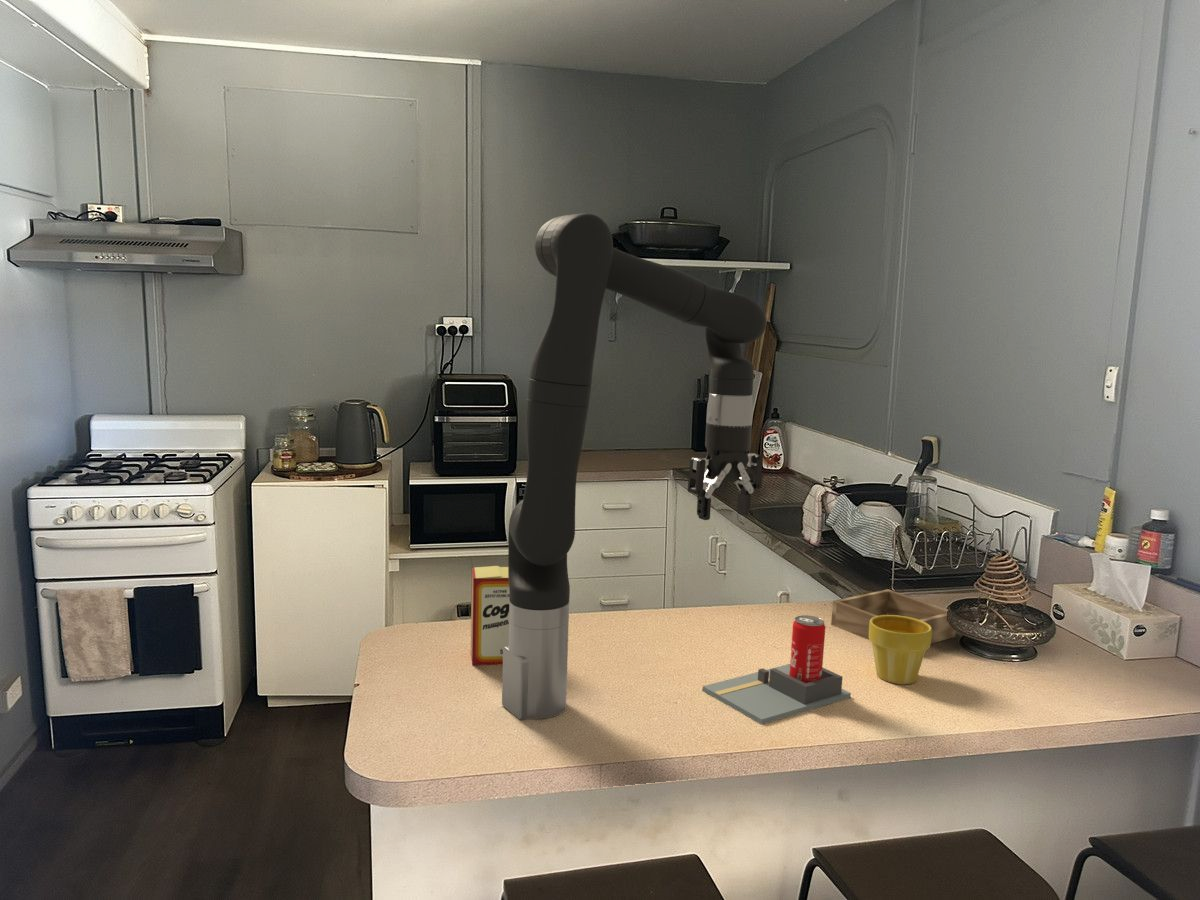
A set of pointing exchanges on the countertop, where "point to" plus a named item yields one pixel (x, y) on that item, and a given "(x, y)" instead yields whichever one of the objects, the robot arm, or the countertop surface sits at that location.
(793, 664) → the beverage can
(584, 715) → the countertop surface
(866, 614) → the wooden tray
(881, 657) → the plant pot
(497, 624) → the baking soda box
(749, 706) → the board
